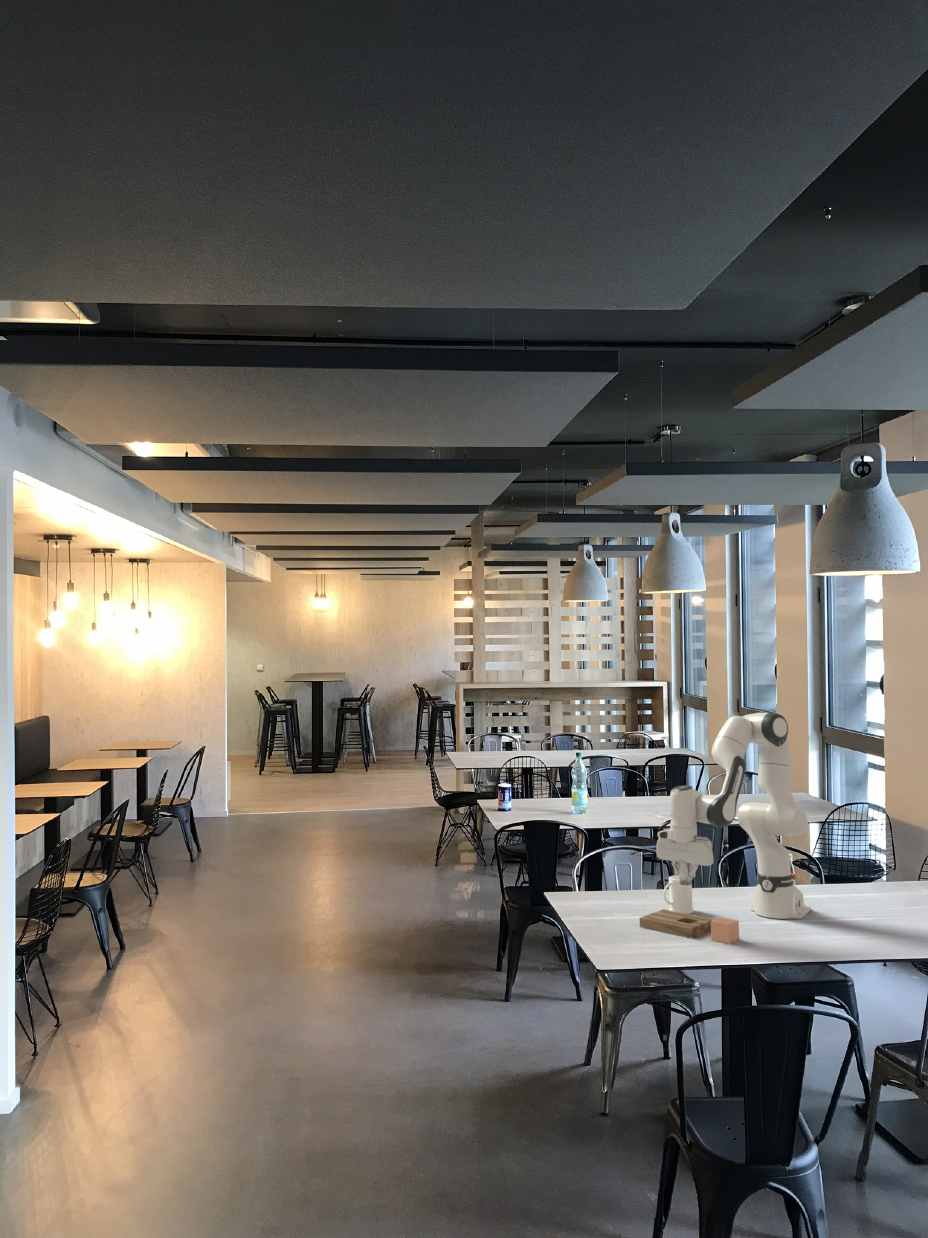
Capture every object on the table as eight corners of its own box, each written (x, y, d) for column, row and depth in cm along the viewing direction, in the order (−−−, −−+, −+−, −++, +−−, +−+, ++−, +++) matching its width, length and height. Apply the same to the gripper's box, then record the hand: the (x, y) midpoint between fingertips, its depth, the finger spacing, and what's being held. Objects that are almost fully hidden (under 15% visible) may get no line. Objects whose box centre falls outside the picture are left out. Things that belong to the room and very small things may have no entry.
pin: (683, 882, 291) (682, 858, 292) (693, 884, 288) (692, 859, 289) (677, 884, 288) (676, 860, 289) (687, 886, 286) (686, 861, 286)
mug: (670, 916, 305) (668, 882, 306) (657, 910, 313) (655, 877, 314) (698, 913, 308) (696, 879, 309) (684, 907, 316) (683, 874, 317)
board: (664, 918, 302) (663, 909, 303) (715, 928, 288) (714, 919, 288) (639, 926, 292) (639, 917, 292) (691, 938, 278) (691, 928, 278)
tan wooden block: (721, 935, 280) (720, 917, 280) (739, 939, 275) (738, 920, 276) (711, 940, 275) (710, 921, 276) (729, 944, 271) (728, 924, 271)
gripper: (716, 836, 285) (717, 878, 283) (663, 830, 299) (664, 870, 298) (706, 839, 280) (708, 882, 279) (653, 832, 295) (654, 873, 294)
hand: (685, 876), depth 289 cm, fingers closed on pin, 4 cm apart
